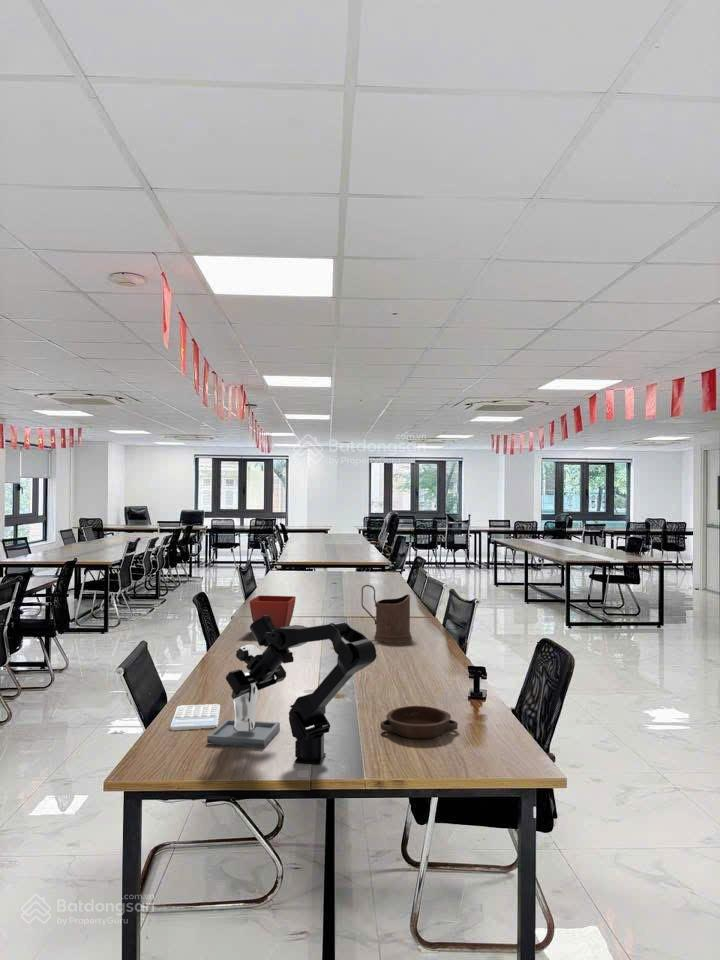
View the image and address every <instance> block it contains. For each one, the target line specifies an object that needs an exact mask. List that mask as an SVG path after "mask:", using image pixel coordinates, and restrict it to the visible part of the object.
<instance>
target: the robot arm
mask: <svg viewBox="0 0 720 960" xmlns="http://www.w3.org/2000/svg"><path fill="white" fill-rule="evenodd" d="M249 630H250V632H251V633H252V635H253V636H254V639H255V640H256V642H257V644H258V645H259V647H263V646H264V647H265V648H266V649H264V651H262V650H261V649H259V648H258V647H257V646H256V645H255V644H252V643H251V644H250V643H249V644H247V645H246V644H245V645H242V646H241V647H239V648H238V649H237V650H236V652H235V653H236V654H235V657H236V659H238V660H239V661H240V662H244V663H245V664H246V666H245V668H246V669H247V670H248V672H249V674H250V675H247V676H245V674H244V673H243V672H244V671H243V670H242V669H235V670H232V671H229V672H228V673H227V674H226V675H225V680H226V682H227V684H228V685H229V687H230V688H231V690H232V692H231V698H232V700H233V699H235V698H238V697H240V696H242V695H244V694H246V693H248V692H249V689H250V684H253V683H256V682H257V683H258V691H261V690H263V689H266V688H269V687H270V686H273V685H275V684H277V683H280V682H283V681H284V680H285V678H286V677H287V671H286V670H285V668H284V667H283V666H282V664H290V663H293V662H294V661H295V660H294V656H293V652H292V651H291V650H290V649H294V648H298V647H300V646H303V645H305V644H307V643H310V642H311V643H313V642H318V641H326V640H330V641H331V644H332V646H333V651H334V652H335V653H336V654H337V659H336V661H337V663H336V665H335V666H334V667H333V668H332V669H331V671H330V672H329V673H328V674H327V676H326V677H324V679H323V680H322V681H321V682H320V683H319V684H318V686H317V687H316V689H314V691H313V692H312V693H308V694H305V695H302V696H298V697H297V698H296V699H295V701H294V703H293V704H292V705H289V707H290V709H289V712H288V722H289V727H290V731H291V736H292V737H293V738H295V739H296V740H295V741H294V743H295V747H294V749H295V750H294V751H295V753H294V756H295V757H294V758H295V763H299V764H300V763H301V764H313V765H320V764H321V763H322V762H323V761H324V759H325V757H326V756H327V755H326V754H327V753H326V752H325V734H326V733H329V731H330V729H331V724H330V722H329V721H328V719H327V716H326V711H327V710H326V709H327V705H328V704H329V703H330V702H331V701H332V700H333V698H334V697H335V696H336V695H338V693H339V692H340V691H341V689H342V688H344V686H345V685H346V683H347V682H348V681H349V680H350V679H351V678H352V677H353V676H354V675H355V674H356V673H357V672H359V671H361V670H363V669H365V668H367V667H368V666H369V665H370V664H372V663H373V662H374V661H376V658H377V656H378V654H377V649H376V646H375V644H374V643H373V642H372V640H370V639H369V638H368V637H366V636H365V635H364V633H361V632H359V631H358V630H356V629H354V628H352V627H351V626H350V625H349V624H348V623H347V622H346V621H342V620H341V621H335V622H330V623H327V624H320V625H314V626H305V625H299V624H293V625H290V626H286V627H281V628H277V629H276V627H275V626H274V624H273V622H272V621H271V618H270V616H269V615H264V616H262V618H260V619H258V620H256V621H255V622H254V623H253V622H252V623H250V626H249ZM343 639H344V640H343ZM344 641H347V642H348V643H345V642H344Z"/></svg>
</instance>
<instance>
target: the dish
mask: <svg viewBox="0 0 720 960" xmlns="http://www.w3.org/2000/svg"><path fill="white" fill-rule="evenodd" d="M451 718H452V716H451V714H450V713H449V712H447V711H445V710H442V709H439V708H437V707H431V706H425V705H410V706H409V705H407V706H402V707H396V708H394V709H392V710H390V711H389V712H388V713H387V714H386V720H383V721H381V722H380V724H379V725H380V729H381V730H382V731H385V732H392V733H395V734H397V735H399V736H402V737H404V738H410V739H415V740H417V739H419V740H420V739H422V740H423V739H424V740H425V739H432V738H437V737H439V736H442V735H443V734H444V733H446V732H448V731H456V730H458V724H459V723H458V721H455V720H453V719H451Z"/></svg>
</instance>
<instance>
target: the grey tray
mask: <svg viewBox="0 0 720 960" xmlns="http://www.w3.org/2000/svg"><path fill="white" fill-rule="evenodd" d="M234 723H235V719H231V718H230V719H229V718H228V719H227V718H226V719H225V720H224V721H223V722H222V723H220V724H219V725H218V726H217V728H214V729H213V730H212V731H211V732H210V733H209V734H208V735H207V737H206V741H207V742H206V744H207V743H211V744H210V745H213V744H224V745H223V746H227V745H236V746H235V747H241V746H245V747H246V748H258V749H265V748H266V747H267V745H268V744H270V742H271V741H273V739H274V738H275V736H277V735H278V733H280V731H281V730H280V729H281V722H274V721H259V720H255V725H256V729H255V730H254V731H251V732H236V731H234V729H233V728H234ZM273 737H274V738H273ZM245 747H244V748H245Z"/></svg>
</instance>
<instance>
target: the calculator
mask: <svg viewBox="0 0 720 960" xmlns="http://www.w3.org/2000/svg"><path fill="white" fill-rule="evenodd" d="M220 711H221V705H220V703H219V704H218V703H213V704H210V703H208V704H207V703H206V704H187V705H183V704H182V705H178V706H177V707H176V709H175V712H174V715H173V716H172V717H173V718H172V720H171V724H170V726H169V730H170V731H190V730H189V729H195V730H202V729H201V728H214V727H218V726H219V725H218V724H219V720H218V719H220V713H221V712H220ZM217 725H218V726H217ZM214 729H215V728H214Z"/></svg>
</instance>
